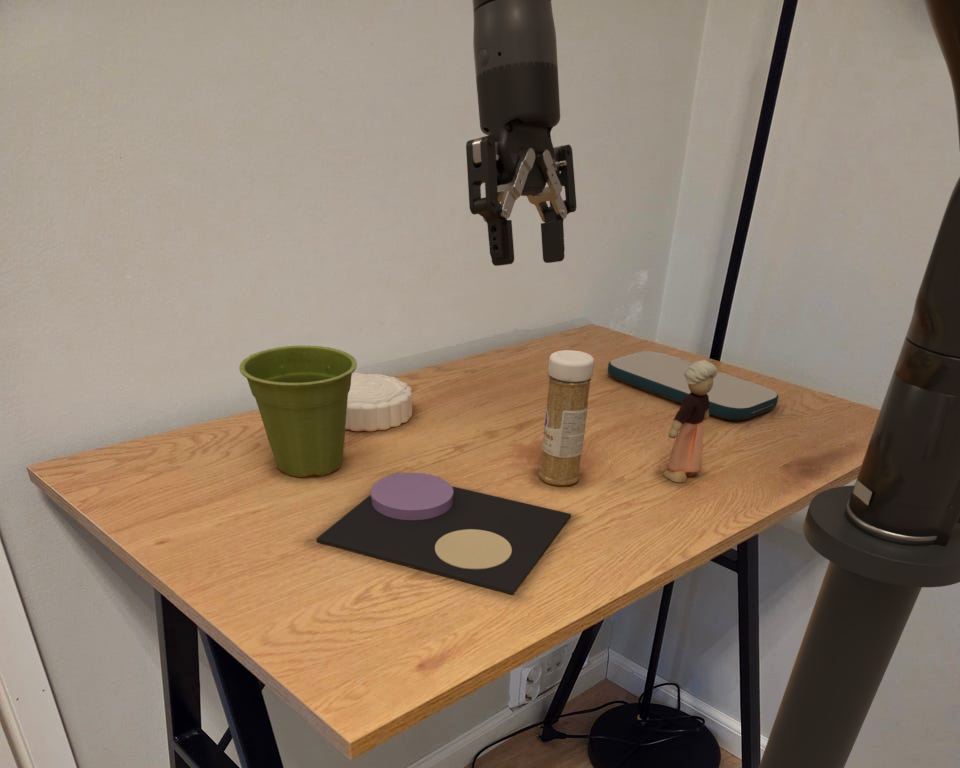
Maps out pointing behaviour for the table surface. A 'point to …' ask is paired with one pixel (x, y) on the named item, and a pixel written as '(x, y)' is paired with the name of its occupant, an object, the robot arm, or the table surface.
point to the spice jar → (565, 416)
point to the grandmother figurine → (691, 423)
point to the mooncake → (377, 402)
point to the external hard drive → (669, 381)
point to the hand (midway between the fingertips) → (529, 263)
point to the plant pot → (302, 404)
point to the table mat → (456, 538)
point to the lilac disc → (412, 496)
